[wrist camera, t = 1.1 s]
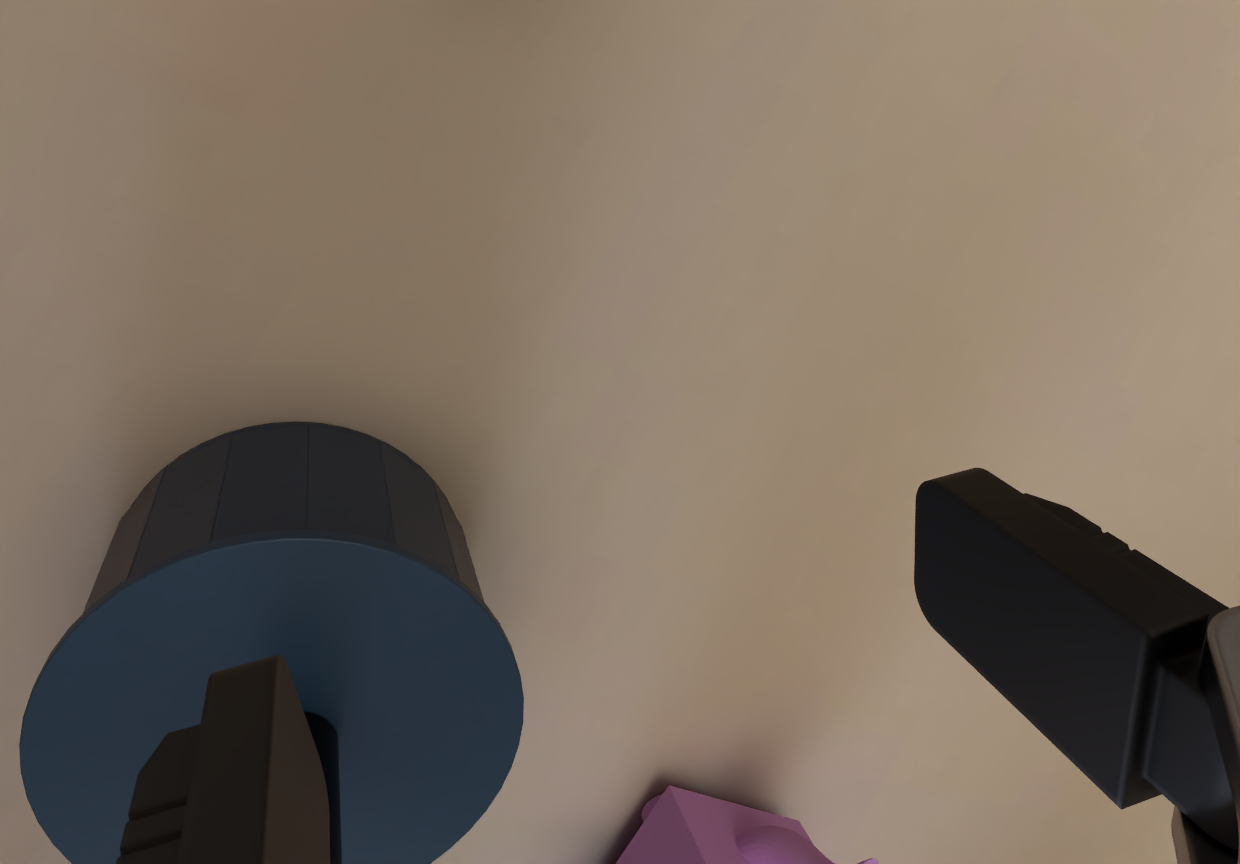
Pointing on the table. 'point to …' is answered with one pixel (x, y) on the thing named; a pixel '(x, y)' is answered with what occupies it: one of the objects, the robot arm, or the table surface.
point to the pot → (287, 499)
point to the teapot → (717, 834)
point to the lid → (322, 674)
